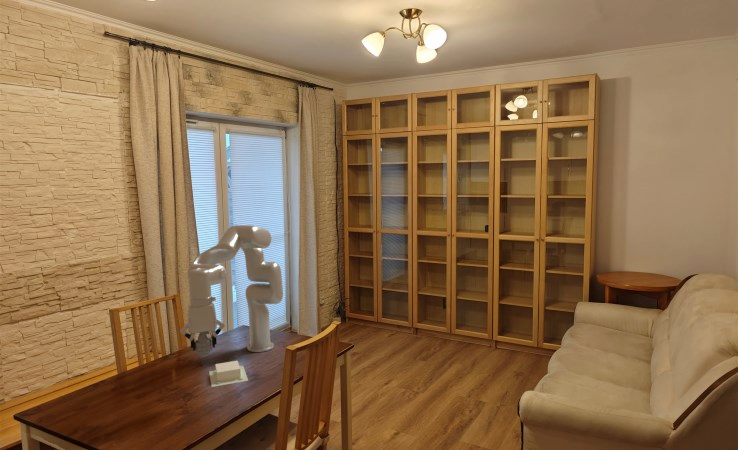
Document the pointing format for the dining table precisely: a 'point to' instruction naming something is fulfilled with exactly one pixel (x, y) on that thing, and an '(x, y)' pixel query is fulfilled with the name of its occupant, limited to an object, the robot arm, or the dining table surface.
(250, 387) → the dining table surface
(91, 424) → the dining table surface
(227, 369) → the cream brick
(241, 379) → the base plate
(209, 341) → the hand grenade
